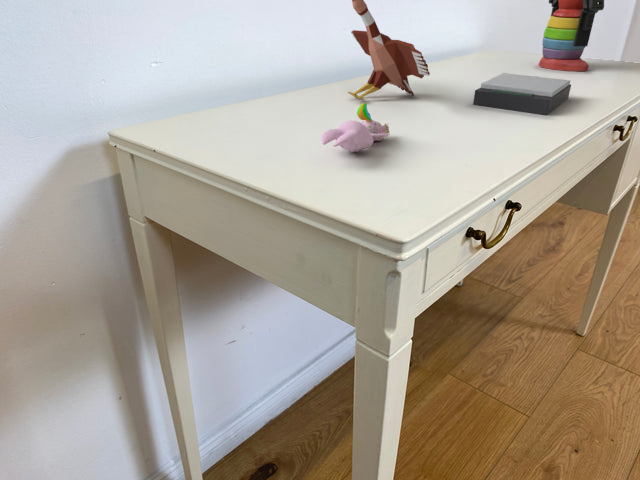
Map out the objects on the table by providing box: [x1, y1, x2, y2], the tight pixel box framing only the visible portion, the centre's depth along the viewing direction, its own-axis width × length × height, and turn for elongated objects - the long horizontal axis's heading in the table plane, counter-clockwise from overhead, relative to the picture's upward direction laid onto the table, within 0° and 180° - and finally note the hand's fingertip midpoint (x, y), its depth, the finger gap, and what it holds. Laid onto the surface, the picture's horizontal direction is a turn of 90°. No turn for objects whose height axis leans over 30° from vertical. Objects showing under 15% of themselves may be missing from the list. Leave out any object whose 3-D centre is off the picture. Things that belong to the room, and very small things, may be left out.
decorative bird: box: [347, 0, 431, 101], centre depth 86 cm, size 28×18×15 cm, turn 18°
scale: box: [472, 72, 572, 116], centre depth 86 cm, size 14×12×3 cm
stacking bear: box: [538, 0, 589, 72], centre depth 112 cm, size 11×10×18 cm
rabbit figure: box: [320, 102, 391, 153], centre depth 63 cm, size 6×6×15 cm
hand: (565, 41), depth 114 cm, fingers open, 13 cm apart
